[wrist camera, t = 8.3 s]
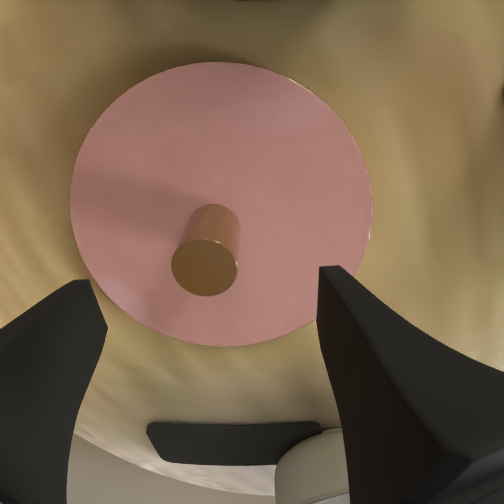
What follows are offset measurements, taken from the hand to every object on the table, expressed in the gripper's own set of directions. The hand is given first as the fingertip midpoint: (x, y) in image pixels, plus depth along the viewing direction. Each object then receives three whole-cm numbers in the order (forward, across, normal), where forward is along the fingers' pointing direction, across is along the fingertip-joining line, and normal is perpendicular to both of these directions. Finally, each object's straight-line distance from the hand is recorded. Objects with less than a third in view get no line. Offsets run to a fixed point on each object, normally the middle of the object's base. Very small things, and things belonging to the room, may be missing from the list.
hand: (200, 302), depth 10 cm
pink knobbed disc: (+6, 0, 0) cm, 6 cm away
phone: (+7, +2, +21) cm, 22 cm away
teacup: (+7, -8, +23) cm, 25 cm away
